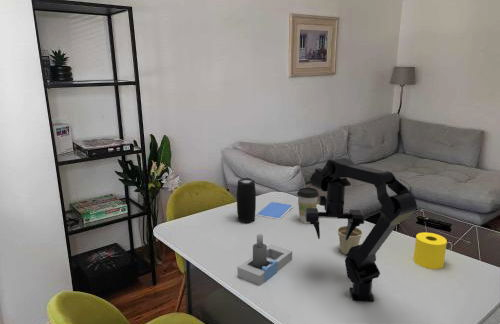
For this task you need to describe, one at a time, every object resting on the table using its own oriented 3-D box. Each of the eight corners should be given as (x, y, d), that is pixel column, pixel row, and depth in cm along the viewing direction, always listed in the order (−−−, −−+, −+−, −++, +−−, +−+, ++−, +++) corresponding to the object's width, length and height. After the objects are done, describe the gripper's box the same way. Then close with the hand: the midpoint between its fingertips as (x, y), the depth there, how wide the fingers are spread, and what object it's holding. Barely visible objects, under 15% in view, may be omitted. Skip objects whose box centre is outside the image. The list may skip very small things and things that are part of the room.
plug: (267, 275, 130) (268, 238, 126) (253, 276, 129) (253, 239, 126) (265, 268, 134) (265, 232, 131) (251, 269, 134) (252, 232, 130)
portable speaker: (236, 224, 172) (236, 183, 167) (237, 216, 181) (237, 177, 176) (255, 224, 171) (255, 183, 167) (255, 216, 181) (255, 177, 176)
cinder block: (292, 259, 140) (293, 248, 139) (260, 285, 124) (260, 273, 123) (271, 252, 146) (271, 241, 145) (237, 276, 129) (237, 264, 128)
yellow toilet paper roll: (437, 255, 143) (440, 232, 141) (448, 269, 133) (451, 245, 131) (409, 254, 144) (412, 232, 142) (418, 268, 134) (421, 244, 132)
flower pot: (362, 258, 141) (363, 237, 139) (336, 256, 143) (337, 235, 141) (360, 247, 150) (361, 226, 148) (335, 244, 152) (337, 225, 150)
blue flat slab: (279, 221, 176) (279, 218, 176) (255, 216, 182) (255, 214, 181) (293, 207, 193) (293, 205, 193) (271, 203, 199) (271, 201, 198)
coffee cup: (292, 219, 177) (293, 188, 174) (309, 215, 181) (311, 185, 178) (303, 226, 169) (304, 195, 165) (321, 223, 173) (323, 192, 169)
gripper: (359, 188, 131) (355, 229, 135) (305, 186, 132) (303, 227, 136) (366, 200, 120) (362, 244, 124) (307, 198, 121) (305, 242, 125)
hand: (332, 239), depth 128 cm, fingers open, 9 cm apart
